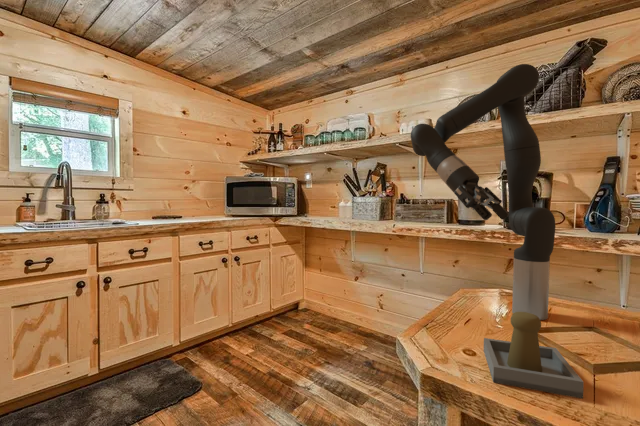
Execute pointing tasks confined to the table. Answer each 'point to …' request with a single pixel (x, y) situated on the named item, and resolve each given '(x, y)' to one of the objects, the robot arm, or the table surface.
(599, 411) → the table surface
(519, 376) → the tray
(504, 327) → the table surface
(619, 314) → the table surface
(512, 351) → the cork
